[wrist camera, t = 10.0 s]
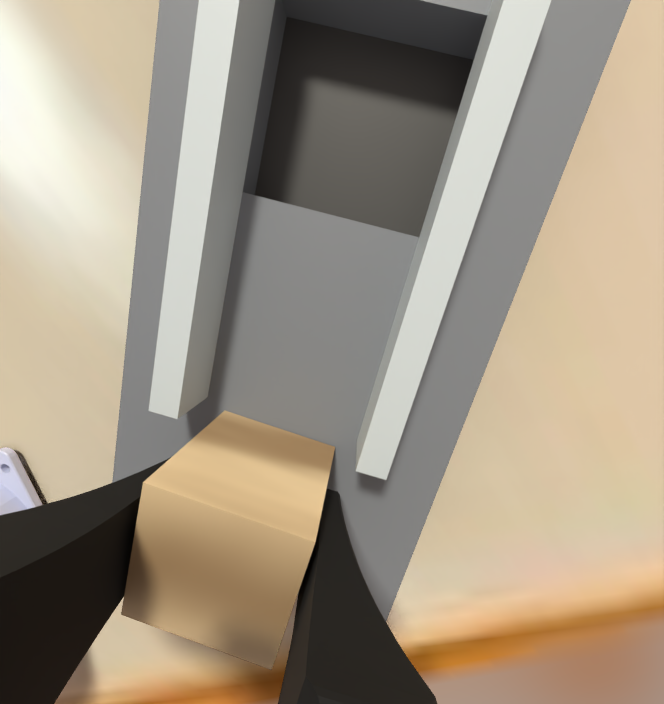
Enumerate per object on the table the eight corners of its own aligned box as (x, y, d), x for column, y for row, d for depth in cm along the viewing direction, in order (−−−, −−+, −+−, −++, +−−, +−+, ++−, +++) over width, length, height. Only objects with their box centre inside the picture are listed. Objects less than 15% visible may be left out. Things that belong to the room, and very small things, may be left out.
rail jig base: (207, -50, 11) (116, -242, 7) (586, 35, 10) (726, -121, 6) (138, 505, 16) (65, 576, 12) (382, 579, 15) (389, 679, 12)
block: (224, 410, 12) (143, 482, 8) (335, 447, 12) (315, 542, 7) (203, 504, 13) (121, 614, 9) (304, 539, 13) (271, 670, 9)
